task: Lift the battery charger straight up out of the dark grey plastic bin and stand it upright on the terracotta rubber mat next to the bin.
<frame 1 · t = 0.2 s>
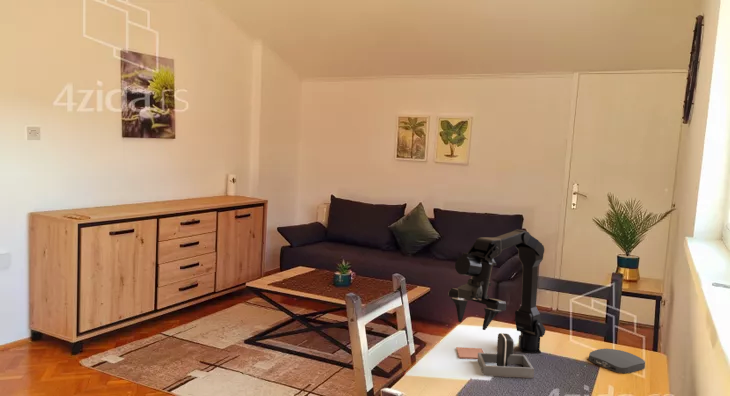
hand: (471, 325, 170), 15 cm above the table, tool pointing down, fingers open, 9 cm apart
media streaming box: (616, 364, 182), on the table
mat: (470, 354, 186), on the table
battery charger: (504, 370, 174), resting in bin
bin: (504, 369, 174), on the table
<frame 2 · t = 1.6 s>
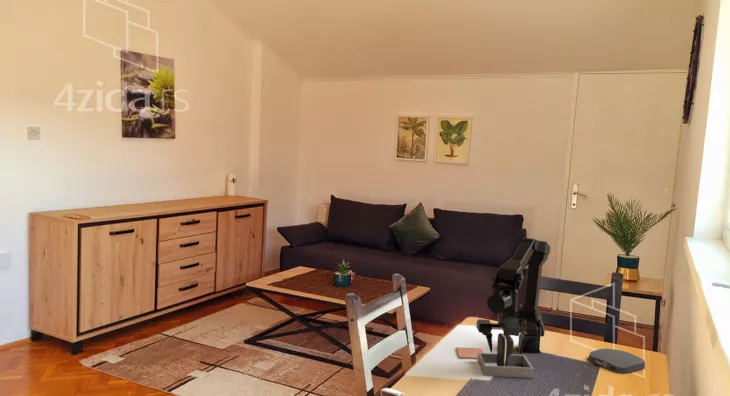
hand: (505, 352, 174), 5 cm above the table, tool pointing down, fingers open, 9 cm apart
nothing on the table moved.
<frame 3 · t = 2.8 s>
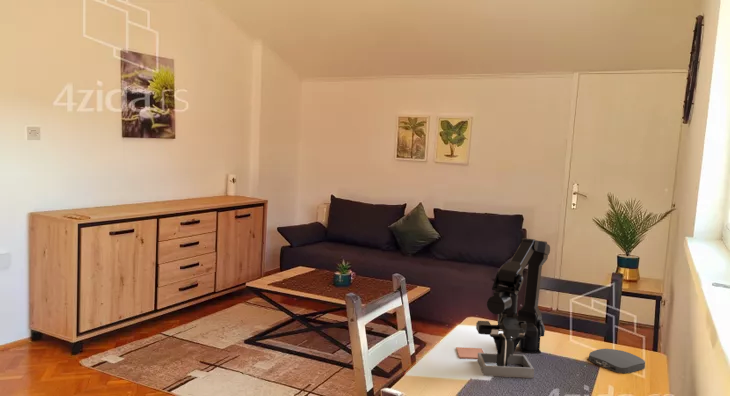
hand: (505, 354, 174), 5 cm above the table, tool pointing down, fingers closed on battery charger, 4 cm apart
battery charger: (504, 369, 174), resting in bin, touching gripper
everything else where it was.
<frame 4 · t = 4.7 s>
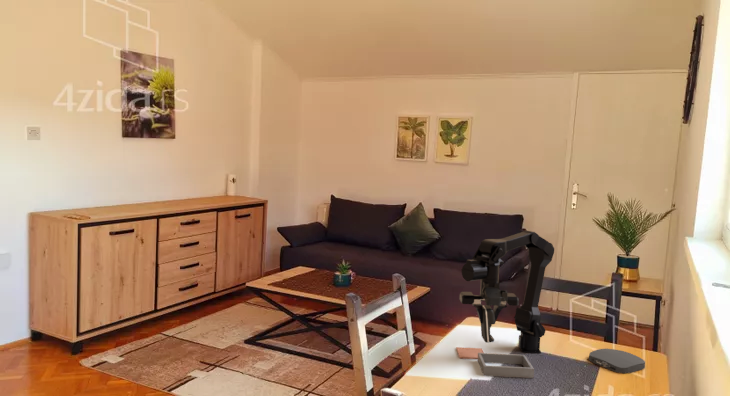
hand: (487, 323, 180), 13 cm above the table, tool pointing down, fingers closed on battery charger, 4 cm apart
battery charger: (489, 340, 180), point 7 cm above the table, touching gripper
everything else where it was.
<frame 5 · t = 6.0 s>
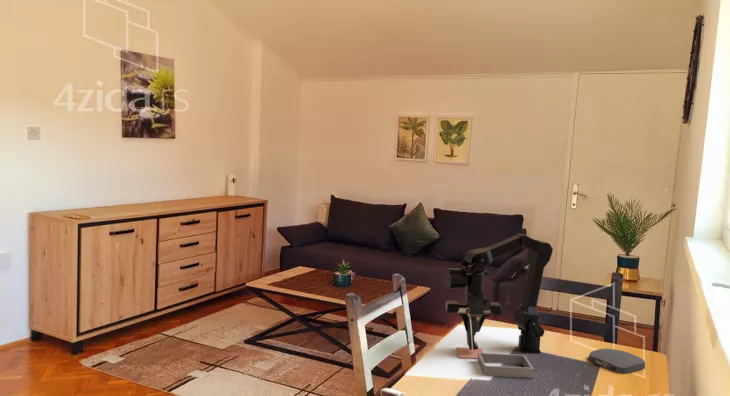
hand: (472, 331, 186), 8 cm above the table, tool pointing down, fingers closed on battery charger, 4 cm apart
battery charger: (474, 347, 186), point 2 cm above the table, touching gripper
everything else where it was.
when the fingers open (7 cm above the table, at t = 7.0 s): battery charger stays where it is, resting on mat.
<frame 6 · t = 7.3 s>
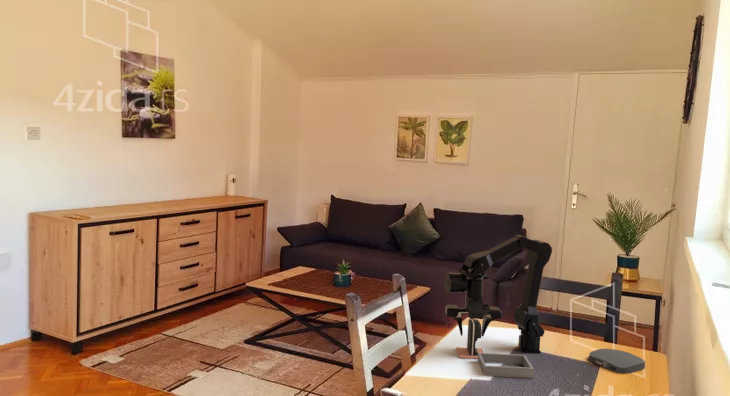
hand: (471, 335, 186), 7 cm above the table, tool pointing down, fingers open, 7 cm apart
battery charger: (473, 353, 186), resting on mat
everything else where it was.
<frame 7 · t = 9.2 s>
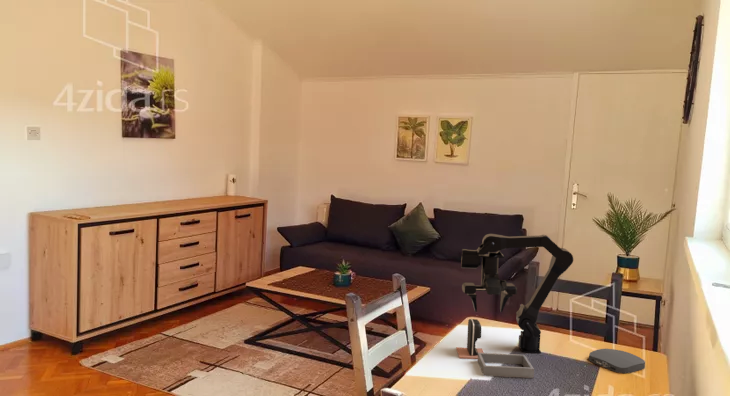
hand: (488, 311, 194), 13 cm above the table, tool pointing down, fingers open, 9 cm apart
nothing on the table moved.
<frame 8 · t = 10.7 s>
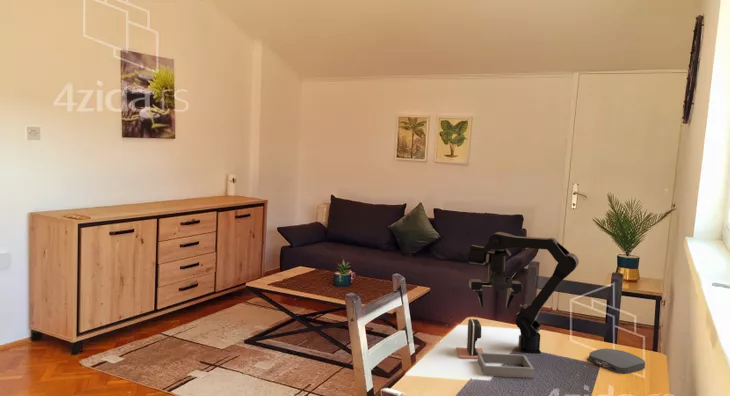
hand: (494, 308, 198), 13 cm above the table, tool pointing down, fingers open, 9 cm apart
nothing on the table moved.
at the end: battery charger inside the target area on the mat (0.9 cm from its centre), point 0.4 cm above the mat's base; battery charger tilted 0°; the gripper is holding nothing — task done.
